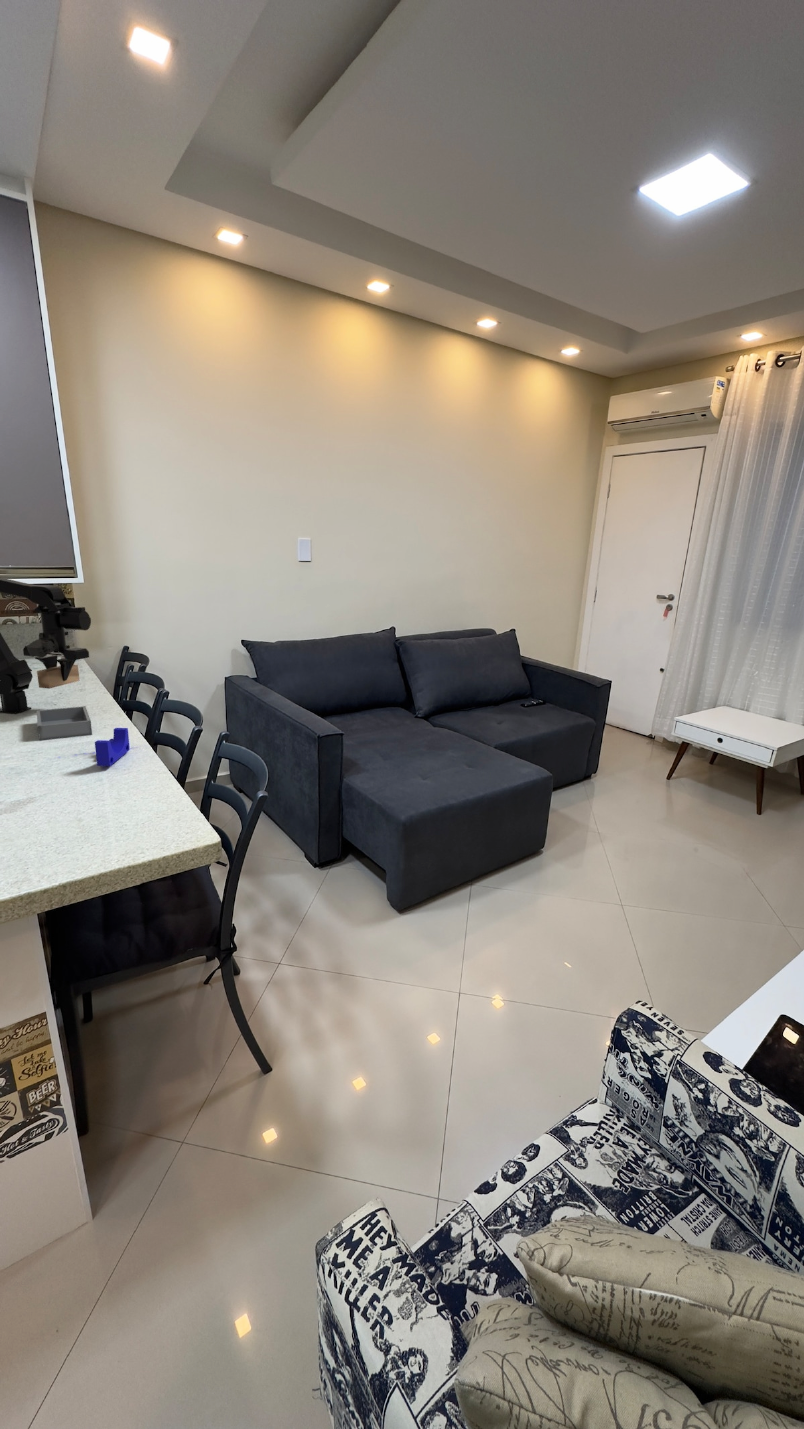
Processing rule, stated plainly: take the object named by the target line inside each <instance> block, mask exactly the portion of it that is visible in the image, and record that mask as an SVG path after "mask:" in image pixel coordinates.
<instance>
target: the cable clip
mask: <svg viewBox="0 0 804 1429" xmlns="http://www.w3.org/2000/svg"><path fill="white" fill-rule="evenodd" d="M129 737H130V736H129V728H128V727H115V728H113V738H110V739H109V740H104V739H103V740H102V739H101V740H99V739H97V740H95V741H94V747H95V748H94V749H95V758H96V766H97V767H111V766H112V765H113V764H114V763H115V762H117V761H118V760H119V759H121V758H122V757H123V756H125V755H126V754H127V753H128V752H129V751H130V750H131V748H130V738H129Z"/></svg>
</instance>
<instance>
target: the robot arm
mask: <svg viewBox="0 0 804 1429" xmlns="http://www.w3.org/2000/svg"><path fill="white" fill-rule="evenodd" d="M0 593H4V594H8V595H13V596H15V597H16V596H17V597H21V598H24V599H27V600H28V601H30V602H31V603H32V604H35V605H37V606H36V608H35V609H33V610H32V613H33V614H40V621H41V622H40V623H41V629H42V632H39V633H38V639H36V640H33V641H32V642H31V643H29V644H27V645H25V646H24V647H23V649H22V651H23V656H25V657H32V658H34V659H35V660H37V661H39V662H41V663H42V664H43V665H44V667H45V669H48V668H53V667H58V664H59V666H60V667H61V673H62V678H63V681H66V680H67V678H68V676H69V673H70V671H71V669H72V666H73V665H75V662H76V661H79V660H82V659H88V658H90V652H89V649H87V648H85V647H72V648H71V647H70V646H71V645H70V644H67V639H66V636H68V635H69V631H65V630H70V631H88V630H89V629H90V628H91V624H92V619H91V617H90V614H89V612H88V611H86V607H85V606H78V607H77V606H76V607H75V606H74V605H73V604H72V603H71V602H70V600H69V599H68V597H67V596H66V595H65V593H64V591H63V589H62V588H61V587H60V586H57V585H50V584H49V585H48V584H30V583H26V582H22V581H18V580H14V579H10V578H4V577H0ZM58 656H60V658H59V659H58ZM32 672H33V670H32V669H31V667H30V666H29V664H28V661H27V660H25V659H18V658H17V657H16V656H15V655H14V653H13V652H12V650H11V648H10V647H9V644H8V643H7V642H6V640H5V638H4V636H3V635H2V633H1V632H0V705H1V709H0V713H5V714H14V715H15V714H18V713H21V712H25V711H28V710H31V709H32V706H28V700H27V699H28V698H27V696H26V692H25V690H28V689H29V688H30V683H31V682H32V679H33V677H34V676H33V674H32Z"/></svg>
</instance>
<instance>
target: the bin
mask: <svg viewBox="0 0 804 1429" xmlns="http://www.w3.org/2000/svg"><path fill="white" fill-rule="evenodd" d="M36 720H37V731H38V732H37V733H38V739H39V741H47V740H48V741H49V740H55V739H56V740H57V739H68V738H75V737H76V738H77V737H82V736H83V737H84V736H86V737H87V736H91V735H93V729H92V728H93V727H92V720H91V718H90V715H89V712H88V709H87V707H86V705H82V706H72V707H61V708H49V709H39V710H36Z"/></svg>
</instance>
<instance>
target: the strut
mask: <svg viewBox="0 0 804 1429" xmlns="http://www.w3.org/2000/svg"><path fill="white" fill-rule="evenodd" d="M36 675H37V676H36V677H37V681H38V682H37V684H38V688H41V689H48V690H49V689H54V688H57V687H58V688H59V687H61V686H64V685H68V684H72V683H76V682H79V681H80V671H79V665H78V664H74V665H73V666H72V669H71V671H70V673H69V676H68V678H67V680H66V681H63V678H62V673H61V667H60V665H57V667H53V668H48V669H46V668H44V669H40V670H36Z"/></svg>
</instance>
